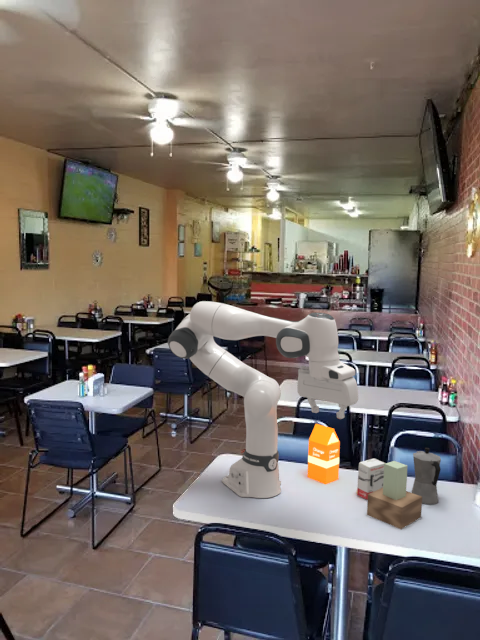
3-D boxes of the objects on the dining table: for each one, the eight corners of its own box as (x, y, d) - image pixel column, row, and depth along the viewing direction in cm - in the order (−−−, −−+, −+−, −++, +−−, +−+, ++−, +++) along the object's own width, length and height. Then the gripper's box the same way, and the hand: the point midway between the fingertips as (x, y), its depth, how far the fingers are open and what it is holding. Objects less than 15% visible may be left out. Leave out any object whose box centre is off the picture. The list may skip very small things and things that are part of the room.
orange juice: (320, 472, 196) (321, 421, 195) (338, 479, 190) (340, 427, 188) (307, 477, 191) (308, 425, 189) (325, 484, 184) (327, 430, 183)
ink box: (367, 500, 172) (368, 466, 171) (356, 495, 176) (357, 462, 175) (384, 495, 176) (385, 462, 176) (373, 490, 181) (374, 457, 180)
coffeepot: (403, 491, 180) (405, 441, 179) (428, 490, 181) (431, 441, 180) (423, 511, 165) (425, 457, 163) (450, 510, 166) (453, 456, 164)
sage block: (382, 494, 161) (384, 463, 160) (392, 490, 164) (394, 460, 163) (395, 500, 157) (397, 468, 156) (405, 496, 160) (407, 465, 159)
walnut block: (366, 515, 161) (367, 494, 161) (387, 504, 169) (388, 484, 169) (401, 530, 152) (402, 507, 152) (421, 518, 161) (422, 496, 160)
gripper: (291, 367, 152) (294, 411, 154) (345, 375, 137) (348, 424, 138) (305, 363, 156) (308, 406, 158) (360, 370, 141) (362, 418, 142)
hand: (327, 415), depth 148 cm, fingers open, 8 cm apart
